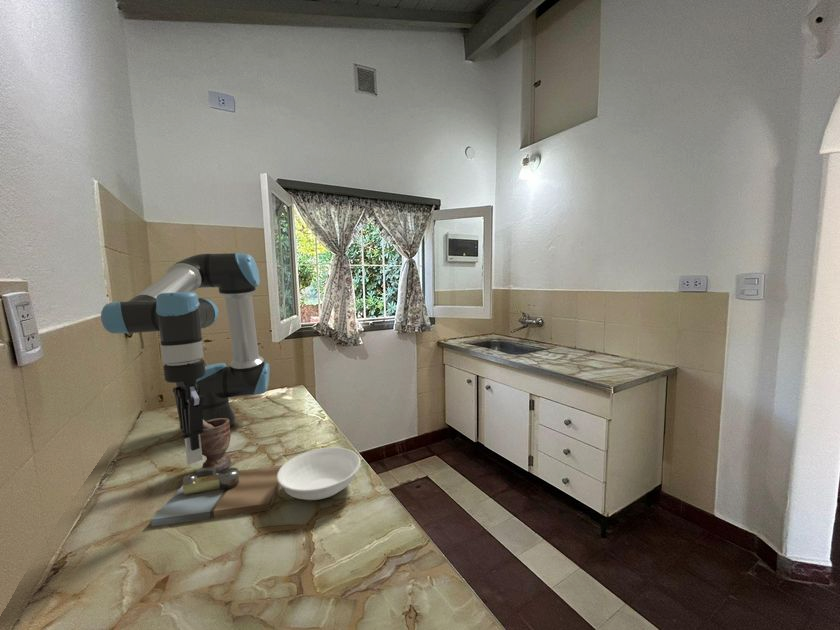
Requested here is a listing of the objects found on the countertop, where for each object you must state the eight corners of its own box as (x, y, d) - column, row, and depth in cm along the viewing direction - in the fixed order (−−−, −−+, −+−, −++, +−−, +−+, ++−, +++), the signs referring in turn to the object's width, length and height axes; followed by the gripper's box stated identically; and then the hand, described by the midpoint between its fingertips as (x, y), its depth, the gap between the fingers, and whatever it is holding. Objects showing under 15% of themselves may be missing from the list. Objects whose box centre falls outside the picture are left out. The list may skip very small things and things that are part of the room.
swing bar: (241, 477, 86) (239, 464, 86) (236, 487, 82) (235, 473, 82) (188, 486, 83) (187, 473, 83) (181, 497, 79) (179, 482, 78)
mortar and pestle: (186, 483, 88) (178, 410, 86) (184, 470, 95) (177, 402, 93) (235, 468, 95) (229, 400, 93) (230, 456, 102) (225, 393, 100)
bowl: (317, 530, 69) (315, 501, 68) (260, 500, 80) (258, 475, 79) (378, 481, 86) (376, 457, 85) (324, 462, 96) (323, 441, 96)
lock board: (191, 482, 89) (190, 465, 88) (286, 470, 93) (284, 454, 92) (151, 526, 72) (149, 506, 71) (269, 510, 76) (267, 490, 76)
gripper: (213, 361, 73) (223, 463, 75) (194, 354, 81) (203, 446, 84) (172, 369, 67) (184, 479, 70) (155, 360, 75) (167, 458, 78)
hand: (194, 461), depth 77 cm, fingers closed
